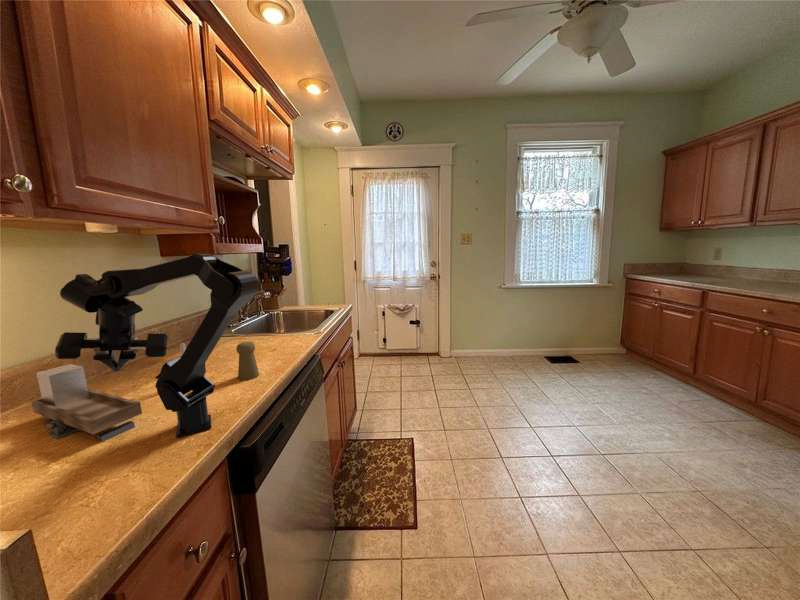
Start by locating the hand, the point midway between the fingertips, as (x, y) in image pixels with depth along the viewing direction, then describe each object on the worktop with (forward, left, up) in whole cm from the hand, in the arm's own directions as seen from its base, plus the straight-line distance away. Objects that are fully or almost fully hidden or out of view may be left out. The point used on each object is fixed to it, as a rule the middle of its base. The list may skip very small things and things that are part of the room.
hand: (117, 370), depth 77 cm
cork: (+7, -29, -11) cm, 32 cm away
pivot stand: (-2, +6, -11) cm, 13 cm away
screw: (+10, -13, -11) cm, 20 cm away
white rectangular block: (+5, +11, -7) cm, 14 cm away
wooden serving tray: (-2, +6, -8) cm, 11 cm away
